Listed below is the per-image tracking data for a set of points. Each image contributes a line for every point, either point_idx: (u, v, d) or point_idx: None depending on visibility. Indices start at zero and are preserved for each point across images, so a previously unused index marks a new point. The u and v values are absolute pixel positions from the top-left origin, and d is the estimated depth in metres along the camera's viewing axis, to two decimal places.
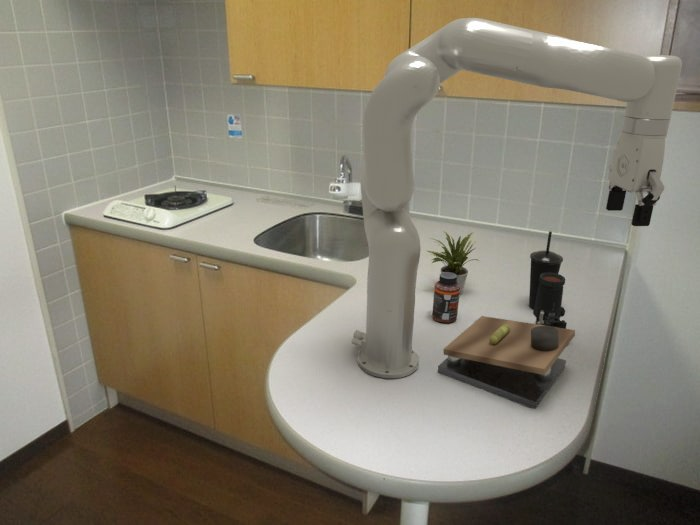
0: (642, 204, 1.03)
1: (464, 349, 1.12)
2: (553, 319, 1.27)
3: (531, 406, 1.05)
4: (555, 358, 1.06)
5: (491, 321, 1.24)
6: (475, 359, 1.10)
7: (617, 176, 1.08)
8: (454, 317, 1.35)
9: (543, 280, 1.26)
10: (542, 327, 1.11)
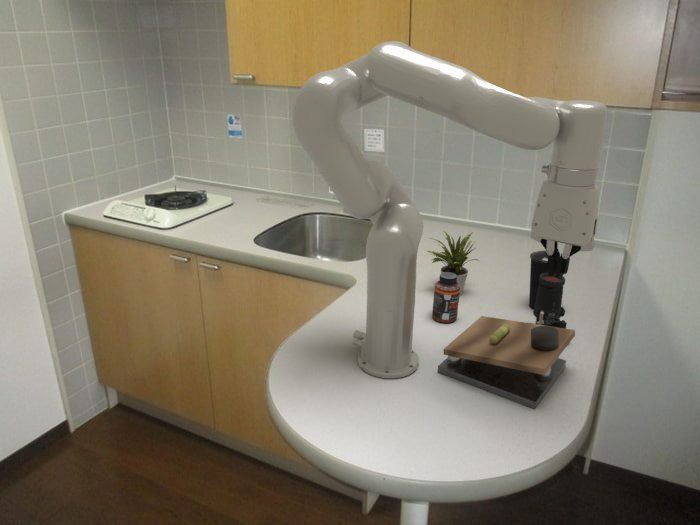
0: (568, 257, 1.01)
1: (464, 349, 1.12)
2: (553, 319, 1.27)
3: (531, 406, 1.05)
4: (555, 358, 1.06)
5: (491, 321, 1.24)
6: (475, 359, 1.10)
7: (553, 230, 1.00)
8: (454, 317, 1.35)
9: (543, 280, 1.26)
10: (542, 327, 1.11)
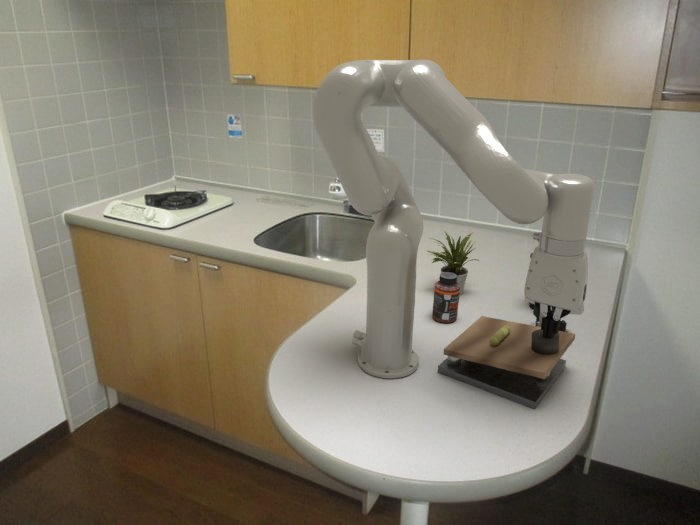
0: (559, 318, 1.06)
1: (464, 349, 1.13)
2: None
3: (531, 406, 1.05)
4: (555, 362, 1.06)
5: (491, 321, 1.24)
6: (475, 360, 1.10)
7: (544, 295, 1.04)
8: (454, 317, 1.35)
9: None
10: None
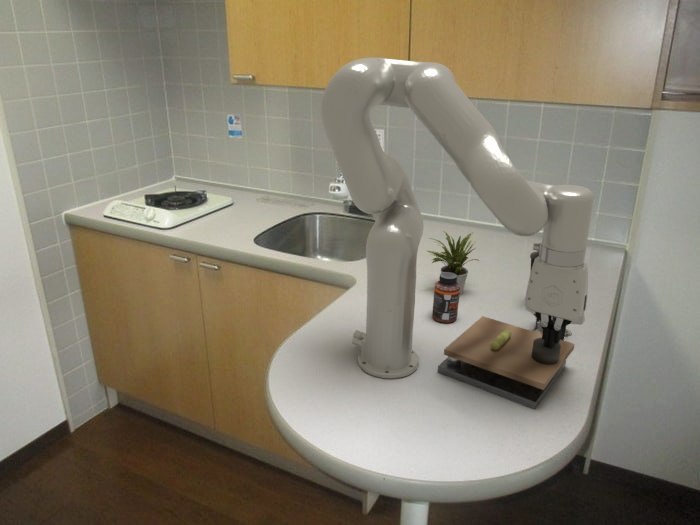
0: (560, 328, 1.06)
1: (465, 351, 1.13)
2: (553, 319, 1.27)
3: (531, 406, 1.05)
4: (554, 373, 1.07)
5: (492, 323, 1.24)
6: (475, 364, 1.10)
7: (545, 305, 1.05)
8: (454, 317, 1.35)
9: None
10: None
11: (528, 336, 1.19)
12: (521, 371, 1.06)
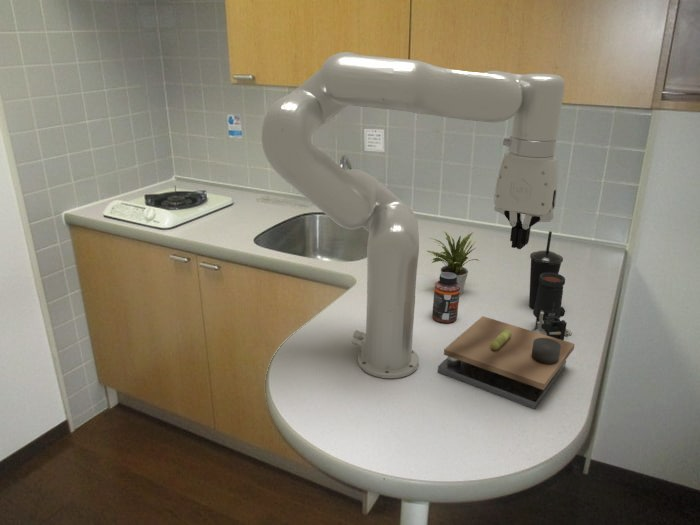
0: (528, 227, 1.04)
1: (465, 351, 1.13)
2: (553, 319, 1.27)
3: (531, 406, 1.05)
4: (554, 373, 1.07)
5: (492, 323, 1.24)
6: (475, 364, 1.10)
7: (513, 202, 1.02)
8: (454, 317, 1.35)
9: (543, 280, 1.26)
10: (545, 339, 1.11)
11: (528, 336, 1.19)
12: (521, 371, 1.06)
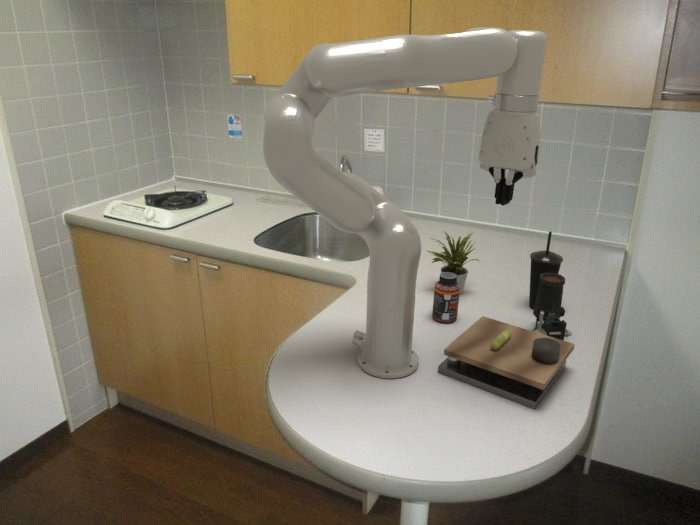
0: (511, 183, 1.06)
1: (465, 351, 1.13)
2: (553, 319, 1.27)
3: (531, 406, 1.05)
4: (554, 373, 1.07)
5: (492, 323, 1.24)
6: (475, 364, 1.10)
7: (497, 157, 1.05)
8: (454, 317, 1.35)
9: (543, 280, 1.26)
10: (545, 339, 1.11)
11: (528, 336, 1.19)
12: (521, 371, 1.06)
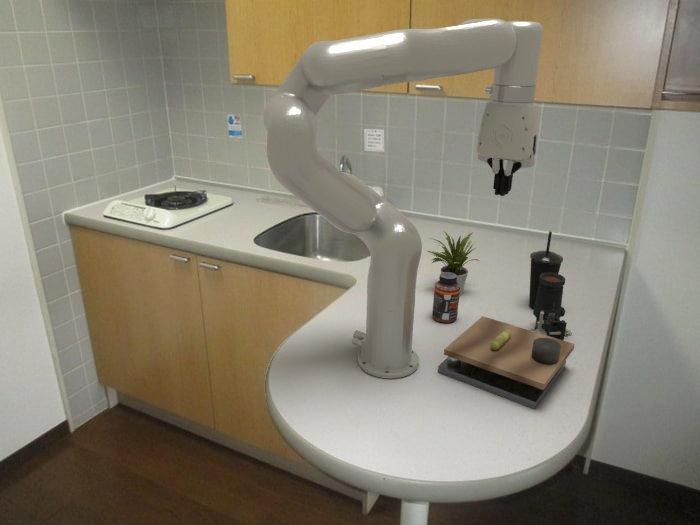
0: (510, 173, 1.07)
1: (465, 351, 1.13)
2: (553, 319, 1.27)
3: (531, 406, 1.05)
4: (554, 373, 1.07)
5: (492, 323, 1.24)
6: (475, 364, 1.10)
7: (495, 148, 1.05)
8: (454, 317, 1.35)
9: (543, 280, 1.26)
10: (545, 339, 1.11)
11: (528, 336, 1.19)
12: (521, 371, 1.06)
